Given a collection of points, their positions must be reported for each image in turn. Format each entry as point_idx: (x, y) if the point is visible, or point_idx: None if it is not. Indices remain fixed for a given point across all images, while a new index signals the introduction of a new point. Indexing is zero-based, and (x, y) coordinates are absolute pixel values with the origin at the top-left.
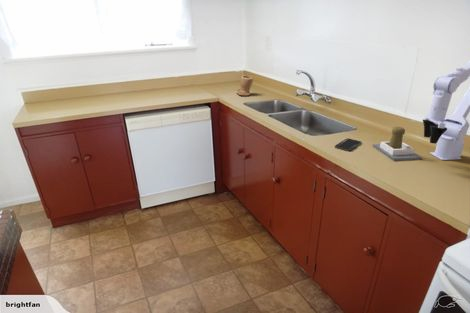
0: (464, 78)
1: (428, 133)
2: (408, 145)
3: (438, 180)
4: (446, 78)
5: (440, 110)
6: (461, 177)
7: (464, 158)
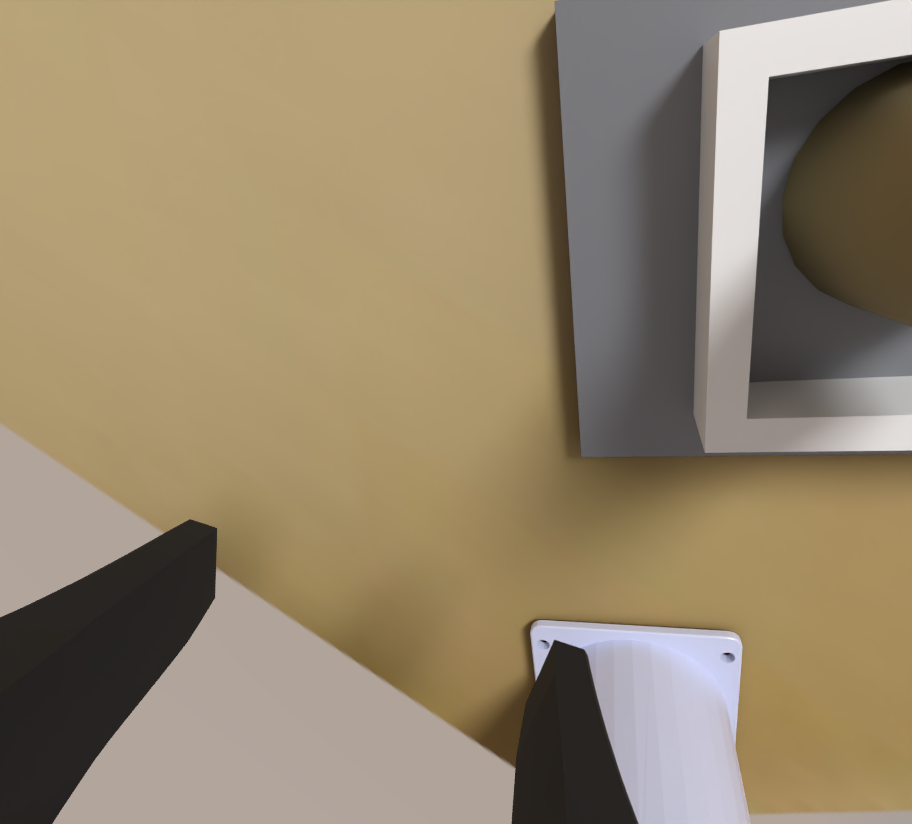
0: None
1: (531, 756)
2: (877, 449)
3: (76, 297)
4: None
5: None
6: None
7: None
